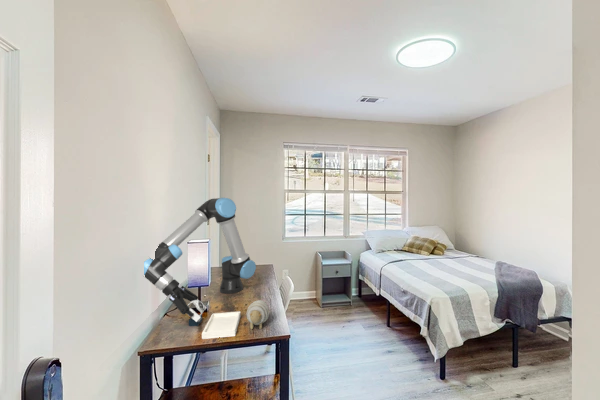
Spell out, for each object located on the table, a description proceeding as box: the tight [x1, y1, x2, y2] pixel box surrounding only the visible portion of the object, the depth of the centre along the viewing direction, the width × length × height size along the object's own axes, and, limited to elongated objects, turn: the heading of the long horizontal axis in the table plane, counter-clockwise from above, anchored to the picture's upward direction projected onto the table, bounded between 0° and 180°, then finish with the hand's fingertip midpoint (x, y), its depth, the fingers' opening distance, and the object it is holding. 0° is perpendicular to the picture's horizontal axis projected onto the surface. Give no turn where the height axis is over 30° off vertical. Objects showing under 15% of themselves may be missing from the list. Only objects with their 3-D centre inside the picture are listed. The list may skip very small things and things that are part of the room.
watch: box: [187, 299, 205, 327], centre depth 124 cm, size 6×8×11 cm
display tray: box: [201, 310, 242, 340], centre depth 120 cm, size 20×14×2 cm
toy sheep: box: [246, 299, 270, 330], centre depth 121 cm, size 11×17×11 cm, turn 1°
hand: (201, 314), depth 124 cm, fingers open, 10 cm apart
